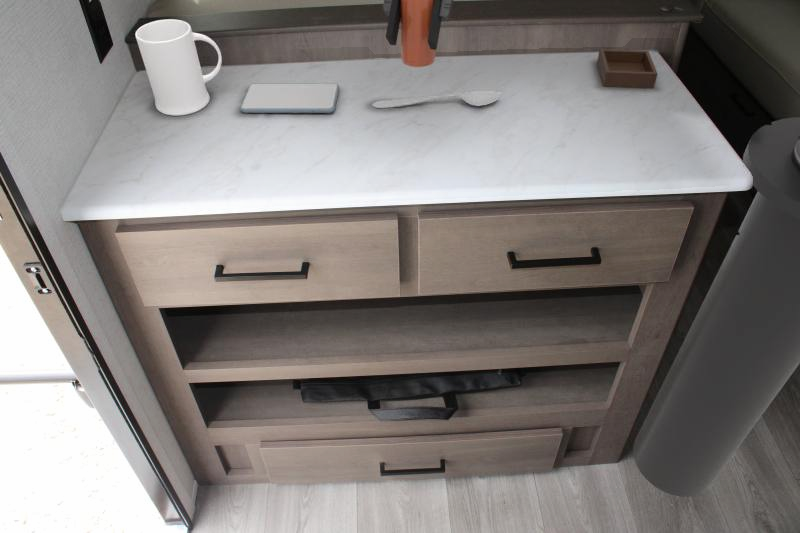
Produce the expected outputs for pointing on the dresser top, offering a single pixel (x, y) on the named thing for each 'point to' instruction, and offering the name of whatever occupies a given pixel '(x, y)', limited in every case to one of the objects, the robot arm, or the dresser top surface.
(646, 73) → the tray
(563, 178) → the dresser top surface
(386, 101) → the spoon
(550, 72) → the dresser top surface
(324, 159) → the dresser top surface
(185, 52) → the mug
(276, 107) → the smartphone
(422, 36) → the orange hollow tube
